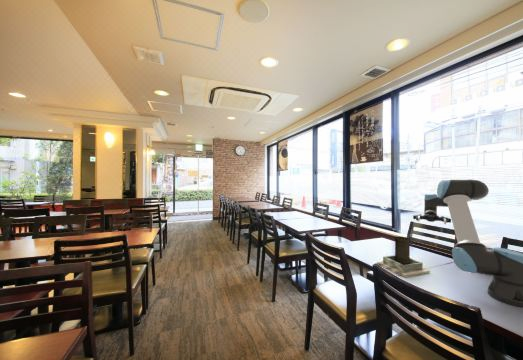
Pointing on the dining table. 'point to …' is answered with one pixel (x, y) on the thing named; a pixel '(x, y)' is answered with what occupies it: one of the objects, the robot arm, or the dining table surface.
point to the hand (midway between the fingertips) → (431, 220)
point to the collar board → (403, 267)
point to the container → (402, 250)
